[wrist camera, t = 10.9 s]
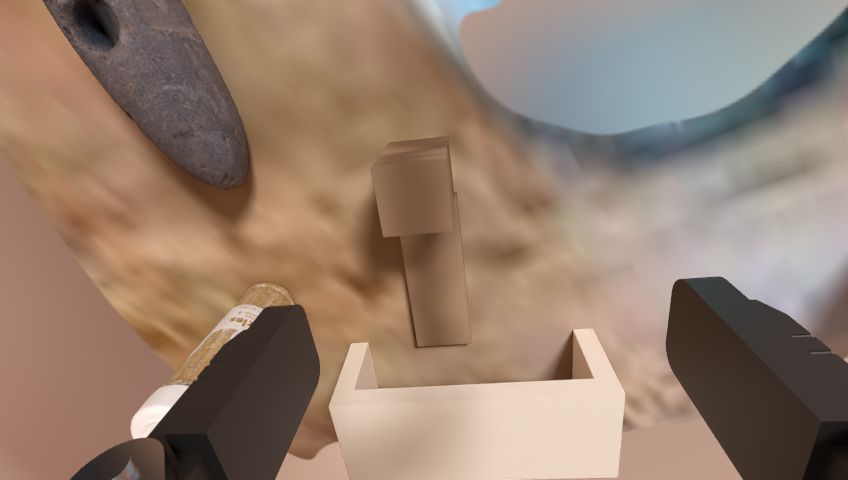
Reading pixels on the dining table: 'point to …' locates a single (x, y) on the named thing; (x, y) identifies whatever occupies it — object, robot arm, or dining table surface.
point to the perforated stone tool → (161, 81)
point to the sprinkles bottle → (207, 353)
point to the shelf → (482, 424)
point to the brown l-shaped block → (426, 235)
